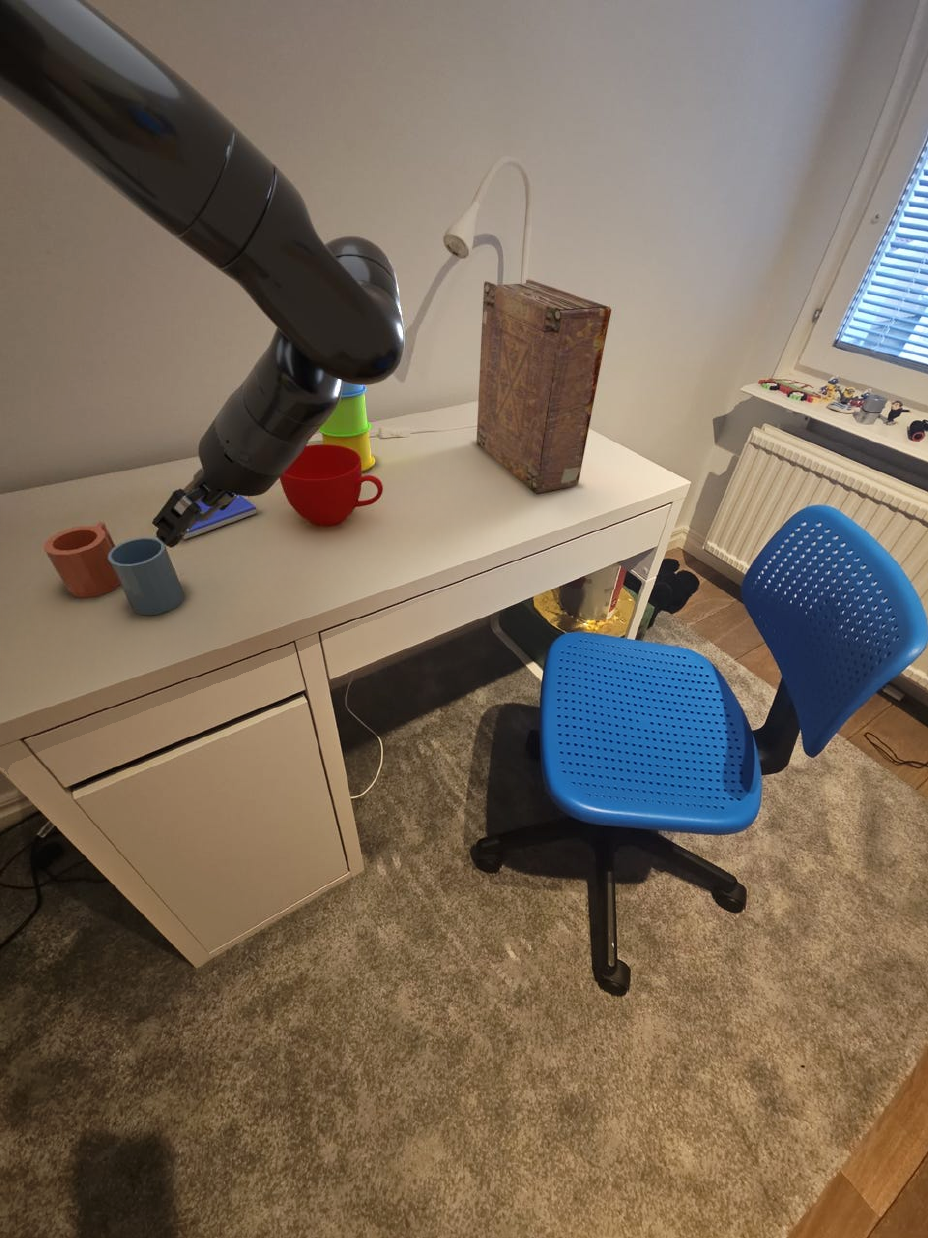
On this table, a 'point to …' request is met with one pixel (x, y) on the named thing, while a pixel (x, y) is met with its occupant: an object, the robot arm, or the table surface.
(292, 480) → the ceramic cup
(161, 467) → the table surface
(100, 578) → the mug
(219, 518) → the hard drive
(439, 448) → the table surface
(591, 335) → the book
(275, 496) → the table surface
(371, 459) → the stacking cups
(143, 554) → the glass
